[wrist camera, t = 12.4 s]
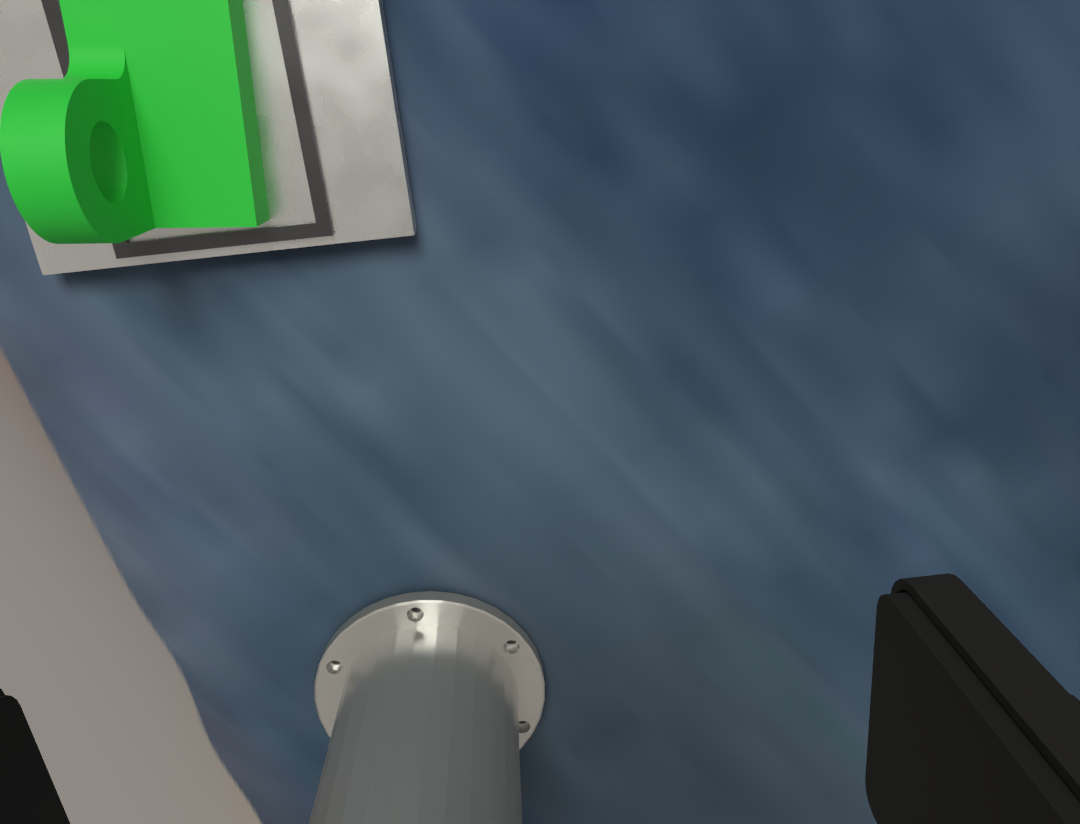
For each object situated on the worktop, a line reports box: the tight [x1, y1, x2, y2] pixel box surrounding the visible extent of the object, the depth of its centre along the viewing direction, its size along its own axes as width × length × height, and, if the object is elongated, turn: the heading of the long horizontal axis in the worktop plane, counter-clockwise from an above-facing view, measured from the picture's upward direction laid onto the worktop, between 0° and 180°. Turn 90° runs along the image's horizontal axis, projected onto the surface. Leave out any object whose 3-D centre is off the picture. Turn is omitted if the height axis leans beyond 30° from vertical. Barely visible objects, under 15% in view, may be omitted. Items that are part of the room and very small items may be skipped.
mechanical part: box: [0, 0, 269, 244], centre depth 29 cm, size 12×6×8 cm, turn 0°
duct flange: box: [0, 0, 417, 275], centre depth 33 cm, size 16×16×2 cm
